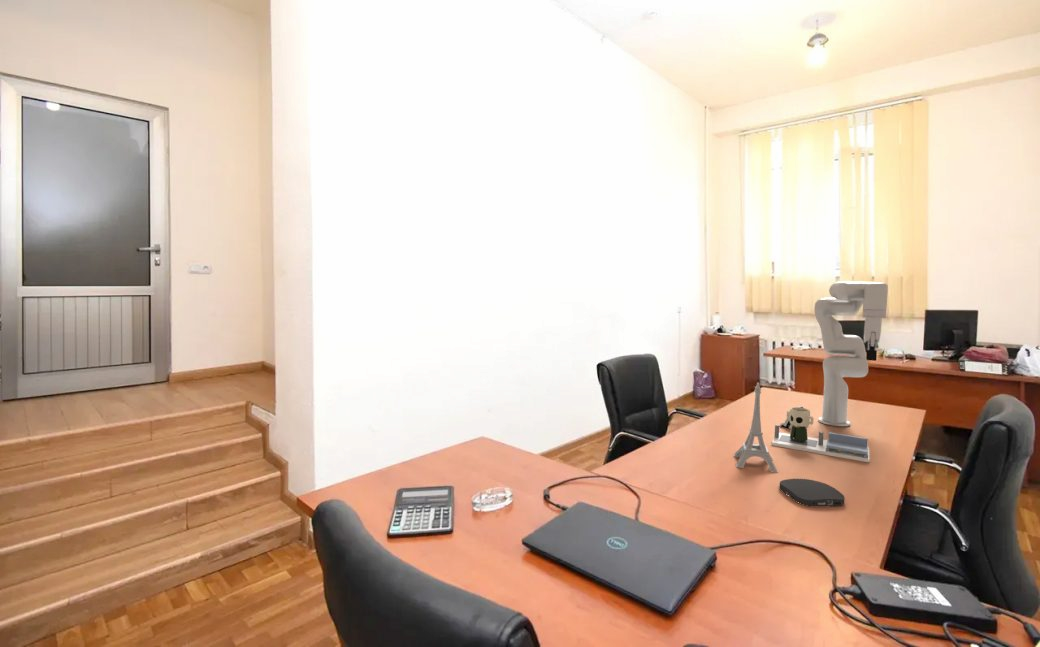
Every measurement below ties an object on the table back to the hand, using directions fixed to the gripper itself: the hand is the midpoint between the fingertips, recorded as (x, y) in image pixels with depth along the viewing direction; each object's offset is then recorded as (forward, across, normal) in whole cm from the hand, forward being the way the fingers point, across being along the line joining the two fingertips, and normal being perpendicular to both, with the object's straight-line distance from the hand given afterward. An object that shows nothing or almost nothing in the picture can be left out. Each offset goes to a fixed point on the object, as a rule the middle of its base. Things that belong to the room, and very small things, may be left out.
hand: (871, 360), depth 189 cm
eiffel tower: (+36, +46, -33) cm, 67 cm away
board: (+35, +13, -15) cm, 40 cm away
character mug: (+34, +13, -22) cm, 43 cm away
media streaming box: (+36, +65, -14) cm, 75 cm away
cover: (+32, +16, -6) cm, 37 cm away
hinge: (+36, -16, -27) cm, 47 cm away
